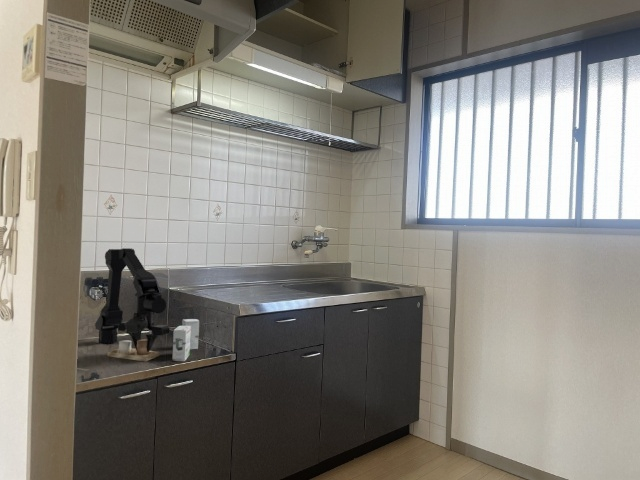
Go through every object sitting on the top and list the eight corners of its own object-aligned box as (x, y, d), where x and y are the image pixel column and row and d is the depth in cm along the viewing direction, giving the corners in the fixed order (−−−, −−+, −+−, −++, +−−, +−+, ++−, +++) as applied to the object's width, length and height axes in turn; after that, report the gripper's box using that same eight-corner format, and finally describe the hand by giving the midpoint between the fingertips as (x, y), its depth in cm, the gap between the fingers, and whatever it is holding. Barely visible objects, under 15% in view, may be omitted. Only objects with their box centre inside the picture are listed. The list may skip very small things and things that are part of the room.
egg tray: (107, 357, 183) (107, 352, 183) (122, 352, 191) (122, 347, 191) (145, 363, 179) (145, 357, 179) (159, 357, 187) (159, 352, 187)
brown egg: (133, 354, 183) (134, 341, 183) (141, 351, 187) (141, 338, 187) (144, 356, 181) (144, 342, 181) (151, 353, 186) (151, 340, 186)
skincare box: (183, 351, 198) (185, 321, 197) (180, 348, 201) (181, 319, 201) (198, 349, 201) (199, 320, 201) (194, 347, 205) (196, 318, 205)
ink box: (177, 354, 192) (178, 324, 192) (190, 355, 192) (191, 325, 192) (171, 360, 183) (173, 329, 183) (185, 361, 184) (186, 330, 183)
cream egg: (115, 355, 185) (116, 342, 185) (123, 352, 189) (124, 339, 189) (126, 356, 184) (126, 343, 183) (133, 353, 188) (133, 341, 188)
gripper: (108, 310, 178) (107, 352, 179) (153, 315, 173) (151, 359, 174) (128, 305, 189) (126, 346, 190) (171, 310, 184) (169, 351, 185)
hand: (142, 350), depth 184 cm, fingers closed on brown egg, 4 cm apart
